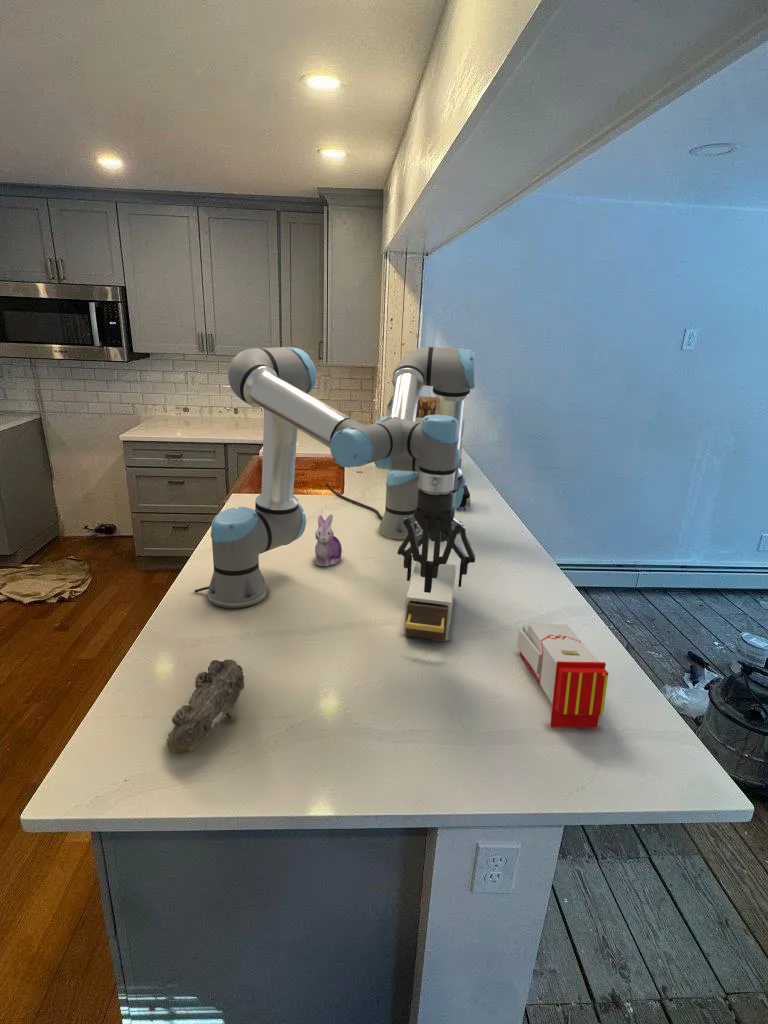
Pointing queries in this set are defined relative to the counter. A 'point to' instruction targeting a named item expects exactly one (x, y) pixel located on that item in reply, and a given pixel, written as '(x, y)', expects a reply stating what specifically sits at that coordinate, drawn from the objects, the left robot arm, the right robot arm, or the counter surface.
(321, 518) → the figurine
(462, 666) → the counter surface
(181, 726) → the fossil
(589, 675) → the toy
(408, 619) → the drawer
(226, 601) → the left robot arm
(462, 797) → the counter surface
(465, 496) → the figurine character
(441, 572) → the cabinet
